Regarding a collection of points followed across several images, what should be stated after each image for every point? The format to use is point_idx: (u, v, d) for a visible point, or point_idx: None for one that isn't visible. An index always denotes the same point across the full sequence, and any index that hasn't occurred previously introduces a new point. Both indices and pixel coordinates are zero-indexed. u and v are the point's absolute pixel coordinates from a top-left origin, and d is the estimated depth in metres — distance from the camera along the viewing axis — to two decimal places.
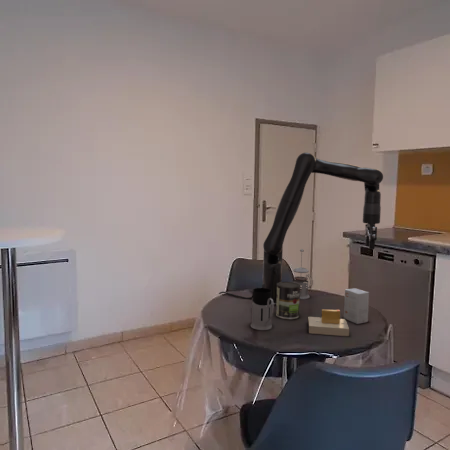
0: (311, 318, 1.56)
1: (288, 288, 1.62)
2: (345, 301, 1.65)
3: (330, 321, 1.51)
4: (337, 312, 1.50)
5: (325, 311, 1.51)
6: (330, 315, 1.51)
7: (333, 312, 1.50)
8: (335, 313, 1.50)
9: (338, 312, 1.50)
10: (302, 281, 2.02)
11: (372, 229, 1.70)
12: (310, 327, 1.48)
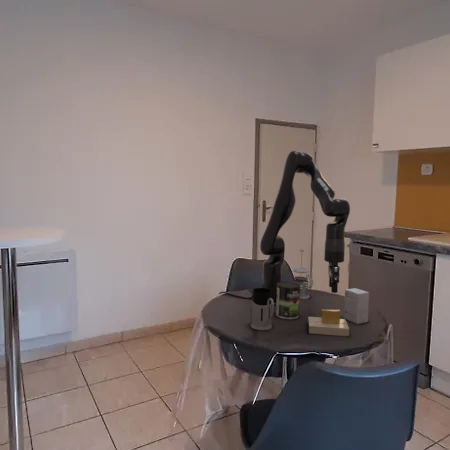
0: (311, 318, 1.56)
1: (288, 288, 1.62)
2: (345, 301, 1.65)
3: (330, 321, 1.51)
4: (337, 312, 1.50)
5: (325, 311, 1.51)
6: (330, 315, 1.51)
7: (333, 312, 1.50)
8: (335, 313, 1.50)
9: (338, 312, 1.50)
10: (302, 281, 2.02)
11: (334, 270, 1.44)
12: (310, 327, 1.48)
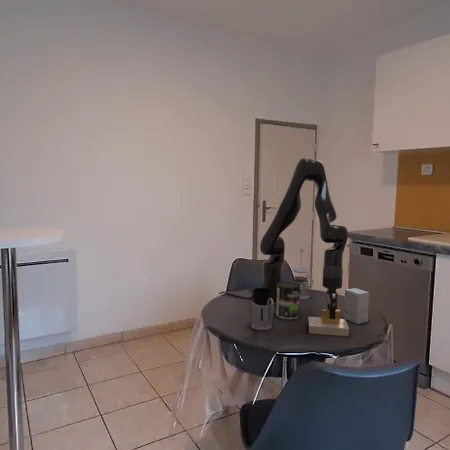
0: (311, 318, 1.56)
1: (288, 288, 1.62)
2: (345, 301, 1.65)
3: (330, 321, 1.51)
4: (337, 312, 1.50)
5: (325, 311, 1.51)
6: None
7: None
8: None
9: (338, 312, 1.50)
10: (302, 281, 2.02)
11: (332, 297, 1.44)
12: (310, 327, 1.48)
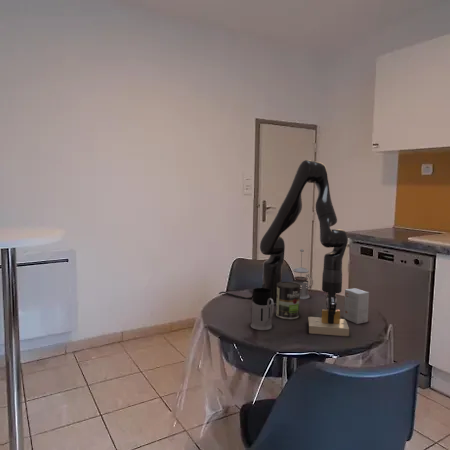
0: (311, 318, 1.56)
1: (288, 288, 1.62)
2: (345, 301, 1.65)
3: None
4: (337, 312, 1.50)
5: (325, 311, 1.51)
6: None
7: None
8: (335, 313, 1.50)
9: (338, 312, 1.50)
10: (302, 281, 2.02)
11: (331, 306, 1.45)
12: (310, 327, 1.48)
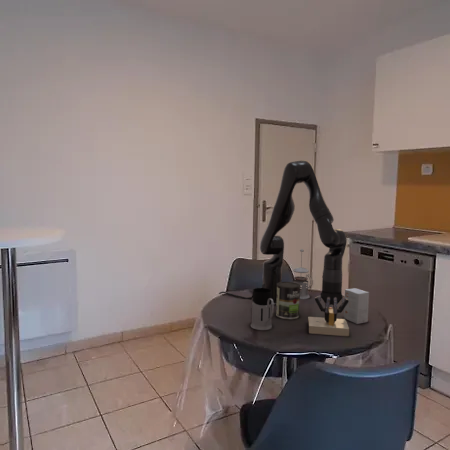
0: (311, 318, 1.56)
1: (288, 288, 1.62)
2: None
3: None
4: (332, 309, 1.54)
5: (333, 313, 1.49)
6: None
7: (332, 311, 1.52)
8: None
9: (332, 309, 1.54)
10: (302, 281, 2.02)
11: None
12: (310, 327, 1.48)
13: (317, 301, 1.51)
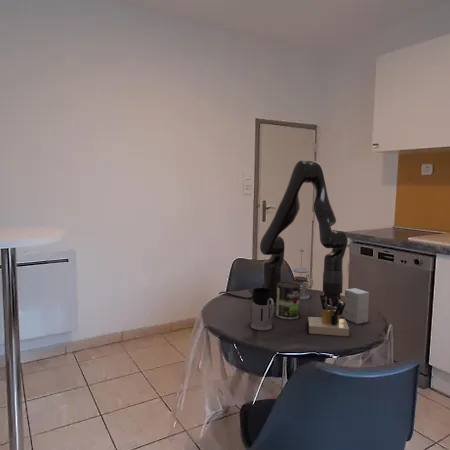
0: (311, 318, 1.56)
1: (288, 288, 1.62)
2: (345, 301, 1.65)
3: (331, 321, 1.51)
4: None
5: (327, 312, 1.50)
6: (331, 315, 1.51)
7: None
8: None
9: None
10: (302, 281, 2.02)
11: (340, 306, 1.44)
12: (310, 327, 1.48)
13: (321, 298, 1.55)
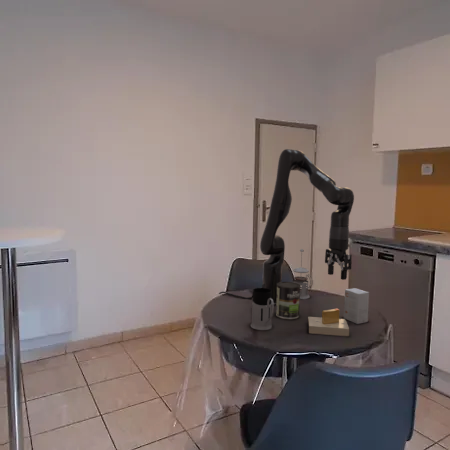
0: (311, 318, 1.56)
1: (288, 288, 1.62)
2: (345, 301, 1.65)
3: (331, 321, 1.51)
4: (337, 311, 1.51)
5: (327, 312, 1.50)
6: (331, 315, 1.51)
7: (334, 312, 1.51)
8: (335, 313, 1.51)
9: (338, 311, 1.51)
10: (302, 281, 2.02)
11: (347, 257, 1.46)
12: (310, 327, 1.48)
13: (326, 252, 1.58)
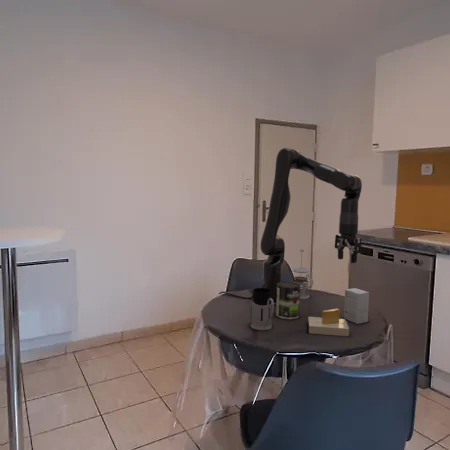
0: (311, 318, 1.56)
1: (288, 288, 1.62)
2: (345, 301, 1.65)
3: (331, 321, 1.51)
4: (337, 311, 1.51)
5: (327, 312, 1.50)
6: (331, 315, 1.51)
7: (334, 312, 1.51)
8: (335, 313, 1.51)
9: (338, 311, 1.51)
10: (302, 281, 2.02)
11: (357, 241, 1.53)
12: (310, 327, 1.48)
13: (336, 238, 1.65)
